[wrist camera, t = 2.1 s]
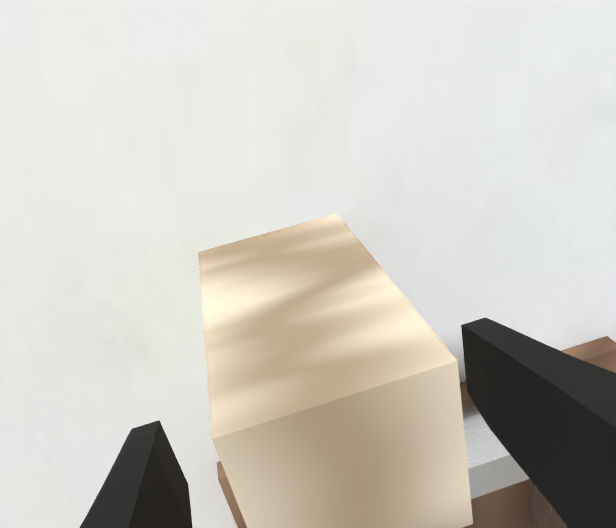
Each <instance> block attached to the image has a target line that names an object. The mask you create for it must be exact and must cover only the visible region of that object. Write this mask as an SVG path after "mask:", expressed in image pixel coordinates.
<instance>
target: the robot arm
mask: <svg viewBox="0 0 616 528" xmlns="http://www.w3.org/2000/svg"><path fill="white" fill-rule="evenodd" d="M461 327H462V339H463V350H464V361H465V373H466V384H467V392H468V394H469V396H470V397H471V399H472V401H473V402H474V404H475V406H476V408H477V409H478V411H479V413H480V414H481V416H482V417H483V419H484V420H485V422H486V424H487V425H488V427H489V428H490V430H491V431H492V432H493V433H494V435H495V436H496V437H497V439H498V440H499V441H500V442H501V444H502V445H503V446H504V447H505V449H506V450H507V451H508V452H509V454H510V455H511V456H512V457H513V459H514V460H515V461H516V462H517V464H518V465H519V466H520V467H521V468H522V470H523V471H524V472H525V473H526V475H527V476H528V477H529V478H530V480H531V481H532V482H533V483H534V485H535V486H536V487H537V488H538V490H539V491H540V492H541V493H542V495H543V496H544V497H545V498H546V499H547V501H548V502H549V503H550V504H551V506H552V507H553V508H554V510H555V511H556V512H557V514H558V515H559V516H560V518H561V519H562V520H563V522H564V523H565V524H566V526H567V527H568V528H616V373H615V372H612V371H609V370H607V369H604V368H601V367H599V366H596V365H593V364H591V363H588V362H586V361H583V360H581V359H578V358H576V357H573V356H571V355H568V354H566V353H564V352H561V351H559V350H557V349H554V348H552V347H550V346H548V345H545V344H543V343H541V342H539V341H536V340H534V339H532V338H530V337H528V336H525V335H523V334H521V333H519V332H517V331H515V330H512V329H510V328H508V327H506V326H504V325H501V324H499V323H497V322H495V321H492V320H490V319H487V318H483V319H479V320H476V321H473V322H470V323H467V324H463V325H461ZM80 528H192V519H191V508H190V499H189V490H188V483H187V481H186V479H185V477H184V474H183V472H182V470H181V468H180V465H179V463H178V461H177V459H176V457H175V454H174V452H173V450H172V448H171V445H170V443H169V441H168V439H167V436H166V434H165V432H164V430H163V428H162V425H161V423H160V421H156V422H152V423H149V424H146V425H143V426H140V427H137V428H133V429H132V430H131V431H130V433H129V435H128V437H127V439H126V441H125V443H124V445H123V447H122V449H121V451H120V453H119V455H118V457H117V459H116V461H115V463H114V465H113V467H112V469H111V471H110V473H109V474H108V476H107V478H106V480H105V482H104V484H103V486H102V488H101V490H100V492H99V494H98V495H97V497H96V499H95V501H94V503H93V505H92V507H91V508H90V510H89V512H88V514H87V516H86V517H85V519H84V521H83V523H82V524H81V526H80Z"/></svg>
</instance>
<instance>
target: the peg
mask: <svg viewBox="0 0 616 528" xmlns="http://www.w3.org/2000/svg"><path fill="white" fill-rule="evenodd" d="M198 253H199V266H200V280H201V294H202V308H203V322H204V336H205V350H206V363H207V377H208V391H209V405H210V419H211V433H212V440H213V443H214V446H215V448H216V451H217V453H218V456H219V458H220V461H221V463H222V466H223V468H224V471H225V473H226V476H227V478H228V481H229V483H230V486H231V488H232V491H233V493H234V496H235V498H236V501H237V503H238V506H239V509H240V511H241V514H242V516H243V519H244V521H245V524H246V526H247V528H463V527H466V526H469V525H471V524H473V517H472V507H471V496H470V486H469V475H468V465H467V454H466V444H465V433H464V423H463V412H462V402H461V391H460V380H459V370H458V361H457V359H456V358H455V357H454V356H453V354H452V353H451V352H450V351H449V350H448V348H447V347H446V346H445V345H444V343H443V342H442V341H441V340H440V339H439V337H438V336H437V335H436V334H435V332H434V331H433V330H432V329H431V328H430V326H429V325H428V324H427V323H426V321H425V320H424V319H423V318H422V317H421V315H420V314H419V313H418V312H417V311H416V309H415V308H414V307H413V306H412V304H411V303H410V302H409V301H408V300H407V298H406V297H405V296H404V295H403V293H402V292H401V291H400V290H399V289H398V287H397V286H396V285H395V284H394V282H393V281H392V280H391V279H390V278H389V276H388V275H387V274H386V273H385V272H384V270H383V269H382V268H381V267H380V265H379V264H378V263H377V262H376V261H375V259H374V258H373V257H372V256H371V254H370V253H369V252H368V251H367V250H366V248H365V247H364V246H363V245H362V243H361V242H360V241H359V240H358V239H357V237H356V236H355V235H354V234H353V233H352V231H351V230H350V229H349V228H348V226H347V225H346V224H345V223H344V222H343V220H342V219H341V218H340V217H339V215H338V214H333V215H330V216H326V217H323V218H319V219H315V220H312V221H308V222H305V223H301V224H298V225H294V226H291V227H287V228H283V229H280V230H276V231H273V232H269V233H266V234H262V235H258V236H255V237H251V238H248V239H244V240H241V241H237V242H233V243H230V244H226V245H223V246H219V247H216V248H212V249H209V250H205V251H201V252H198Z"/></svg>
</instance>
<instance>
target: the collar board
mask: <svg viewBox="0 0 616 528" xmlns="http://www.w3.org/2000/svg"><path fill="white" fill-rule="evenodd" d="M561 352H564V353H566V354H568V355H571V356H573V357H576V358H578V359H581V360H583V361H586V362H588V363H591V364H593V365H596V366H599V367H601V368H604V369H607V370H609V371H612V372H615V373H616V342H614V341H613V340H611V339H610V338H609V337H607V336H606V337H603V338H600V339H597V340H594V341H591V342H588V343H585V344H582V345H579V346H576V347H572V348H569V349H566V350H563V351H561ZM460 391H461V402H462V412H463V423H464V433H465V444H466V454H467V465H468V475H469V486H470V496H471V507H472V517H473V524H471V525H469V526H466V527H463V528H568V527H567V526H566V524H565V523H564V522H563V520H562V519H561V518H560V516H559V515H558V514H557V512H556V511H555V510H554V508H553V507H552V506H551V504H550V503H549V502H548V501H547V499H546V498H545V497H544V496H543V495H542V493H541V492H540V491H539V490H538V488H537V487H536V486H535V485H534V483H533V482H532V481H531V480H530V478H529V477H528V476H527V475H526V473H525V472H524V471H523V470H522V468H521V467H520V466H519V465H518V464H517V462H516V461H515V460H514V459H513V457H512V456H511V455H510V454H509V452H508V451H507V450H506V449H505V447H504V446H503V445H502V444H501V442H500V441H499V440H498V439H497V437H496V436H495V435H494V433H493V432H492V431H491V430H490V428H489V427H488V425H487V424H486V422H485V420H484V419H483V417H482V416H481V414H480V413H479V411H478V409H477V408H476V406H475V404H474V402H473V401H472V399H471V397H470V396H469V394H468V392H467V384H466V382H464V383H461V384H460ZM217 469H218V480H219V482H220V485H221V487H222V490H223V492H224V495H225V497H226V499H227V502H228V504H229V507H230V509H231V512H232V514H233V517H234V519H235V521H236V524H237V526H238V528H247V526H246V524H245V521H244V519H243V516H242V514H241V511H240V509H239V506H238V503H237V501H236V498H235V496H234V493H233V491H232V488H231V486H230V483H229V481H228V478H227V476H226V473H225V471H224V468H223V466H222V463H221V461H220V462H217Z"/></svg>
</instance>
